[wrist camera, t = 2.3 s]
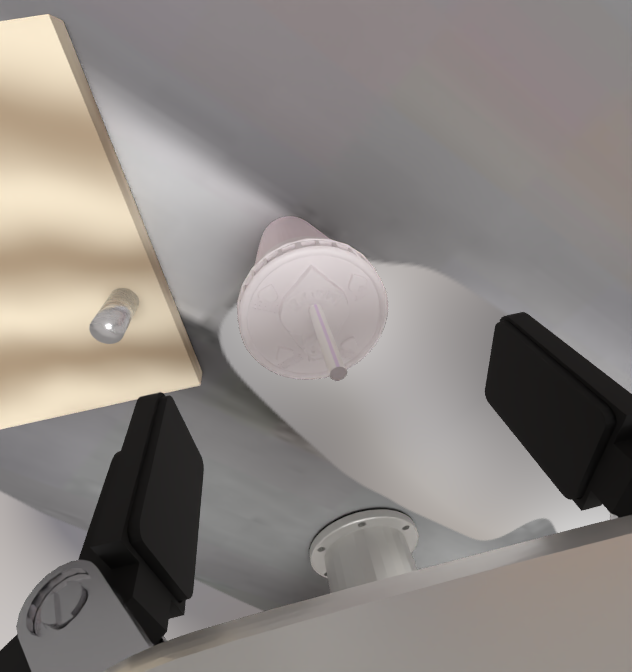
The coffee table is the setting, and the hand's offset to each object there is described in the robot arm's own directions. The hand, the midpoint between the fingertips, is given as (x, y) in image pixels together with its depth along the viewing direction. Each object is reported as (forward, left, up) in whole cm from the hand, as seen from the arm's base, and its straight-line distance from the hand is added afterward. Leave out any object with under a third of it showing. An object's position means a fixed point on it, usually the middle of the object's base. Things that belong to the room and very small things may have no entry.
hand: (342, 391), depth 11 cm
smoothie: (-1, 0, -15) cm, 15 cm away
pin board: (+1, +15, -15) cm, 21 cm away
